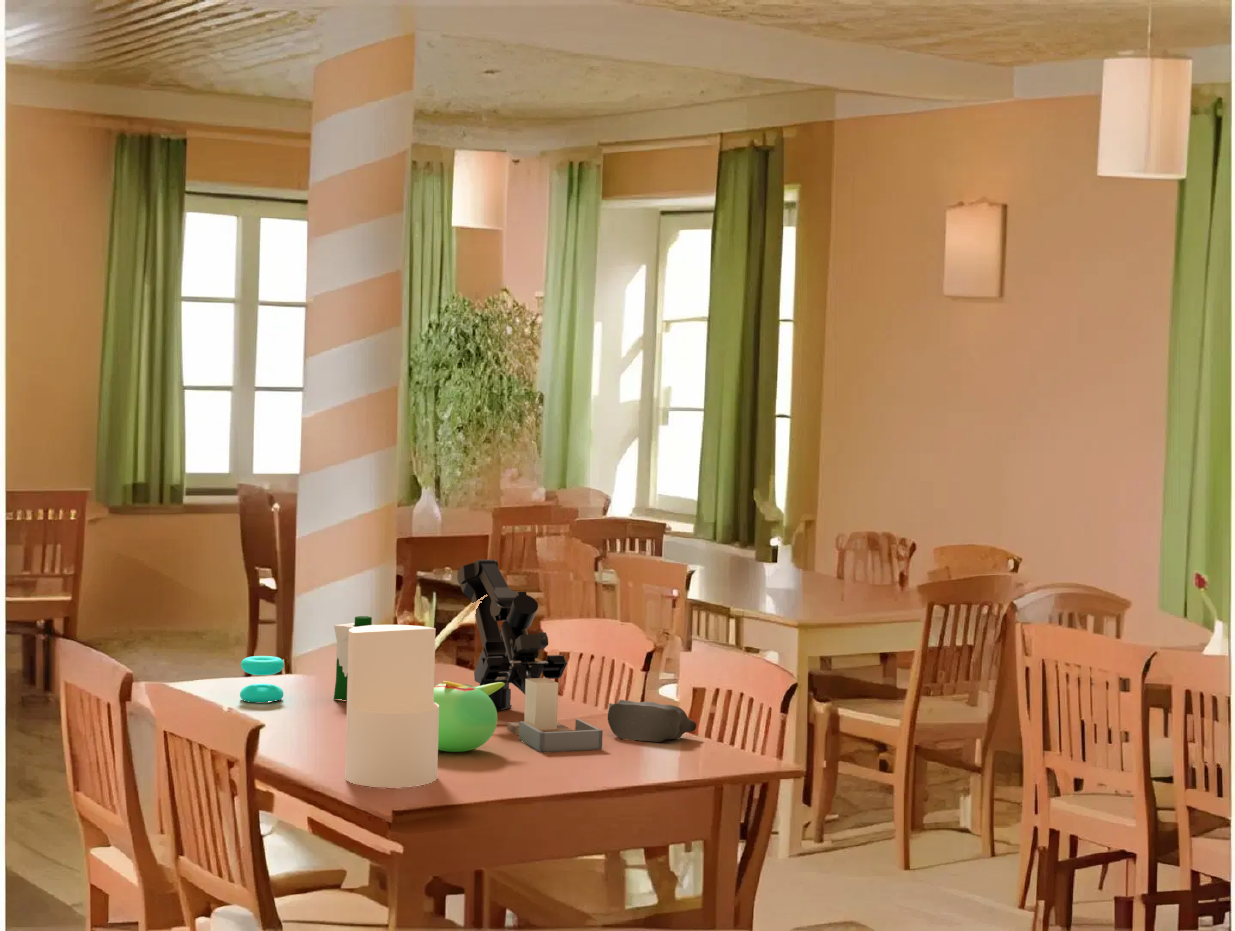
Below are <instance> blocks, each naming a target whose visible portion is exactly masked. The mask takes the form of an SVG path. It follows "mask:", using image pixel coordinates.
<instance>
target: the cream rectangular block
mask: <svg viewBox="0 0 1235 931" xmlns="http://www.w3.org/2000/svg"><path fill="white" fill-rule="evenodd" d="M558 702H559V682H557V681H555V680H554V679H548V678H545V677H542V678H541V677H540V678H529V679H526V682H525V694H524V716H523V717H524V720H523V722H525V723H527V724H529V725H531V726H533V727H534V728H536V729H538V730H547V729H557V722H558Z"/></svg>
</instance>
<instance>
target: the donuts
mask: <svg viewBox="0 0 1235 931" xmlns="http://www.w3.org/2000/svg"><path fill="white" fill-rule="evenodd" d="M240 667H241V669H242V671H243V672H245V673H247V674H248V675H249V674H250V675H255V676H268V675H269V676H270V675H271V676H272V675H276V674H278V673H280V672H281V671H283V669H284V667H285V662H284V660H283V659H282V658H280V657H278V656H271V655H270V656H269V655H253V656H248V657H245V658H243V659H242V661H241V662H240ZM239 696H240V699H241V700H242V699H243V700H242V701H244V700H245V701H244V702H246V701H249V702H248V703H250V702H268V701H275V700H279V701H280V699H281V700H282V698H283V697H284V691H283V689H282V688H281V687H280V686H278V685H276V684H273V683H271V684H270V683H252V684H249V685H246V686H244V687H243V688H242V689H241V690H240V693H239Z"/></svg>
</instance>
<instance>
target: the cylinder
mask: <svg viewBox="0 0 1235 931" xmlns="http://www.w3.org/2000/svg"><path fill="white" fill-rule="evenodd" d="M436 630H437V629H436V628H435V627H431V626H423V625H410V624H373V625H368V626H359V627H354V628H351V629H349V642H348V680H347V702H346V720H345V721H346V726H345V729H346V730H345V757H344V758H345V759H344V760H345V761H344V763H345V765H344V779H345V778H346V780H347V781H349V782H350V783H349V782H348V783H349V784H351V783H353V784H352V785H354V784H360V785H366V786H372V787H409V786H416V785H421V784H428V785H430V784H429V783H431V784H433V783H434V782H433V781H435V780H436V778H437V779H438V763H439V760H438V758H439V756H438V755H439V750H438V732H439V705H438V704H437V703H434V686H435V667H436V665H435V663H436V662H435V660H436V658H435V657H436ZM346 780H345V781H346ZM347 781H346V782H347ZM436 781H437V780H436ZM436 781H435V782H436ZM432 782H433V783H432Z"/></svg>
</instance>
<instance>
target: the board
mask: <svg viewBox="0 0 1235 931" xmlns="http://www.w3.org/2000/svg"><path fill="white" fill-rule="evenodd" d="M519 723H520V721H516V722H513V721H512V722H507V726H506V727H507V728H506V730H507V731H508V730H509V732H510V733H511V734H514V735H515V736H517V735H519ZM540 731H542V732H560V731H574V730H573V729H571V728H569V727H567V726H566V725H564V724H562V723H560V722H558V721H557V729H547V730H540Z"/></svg>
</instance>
